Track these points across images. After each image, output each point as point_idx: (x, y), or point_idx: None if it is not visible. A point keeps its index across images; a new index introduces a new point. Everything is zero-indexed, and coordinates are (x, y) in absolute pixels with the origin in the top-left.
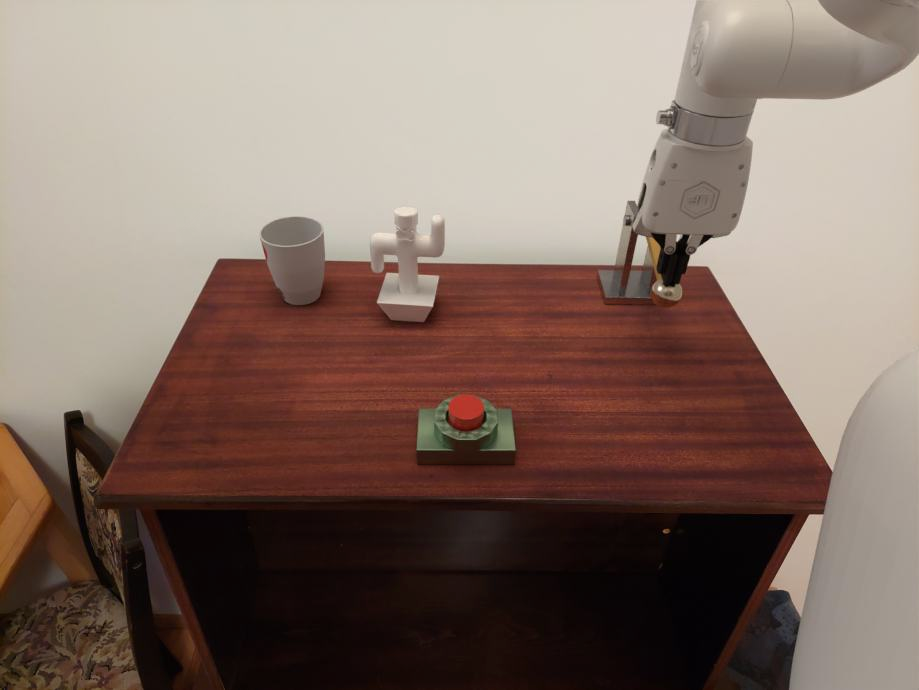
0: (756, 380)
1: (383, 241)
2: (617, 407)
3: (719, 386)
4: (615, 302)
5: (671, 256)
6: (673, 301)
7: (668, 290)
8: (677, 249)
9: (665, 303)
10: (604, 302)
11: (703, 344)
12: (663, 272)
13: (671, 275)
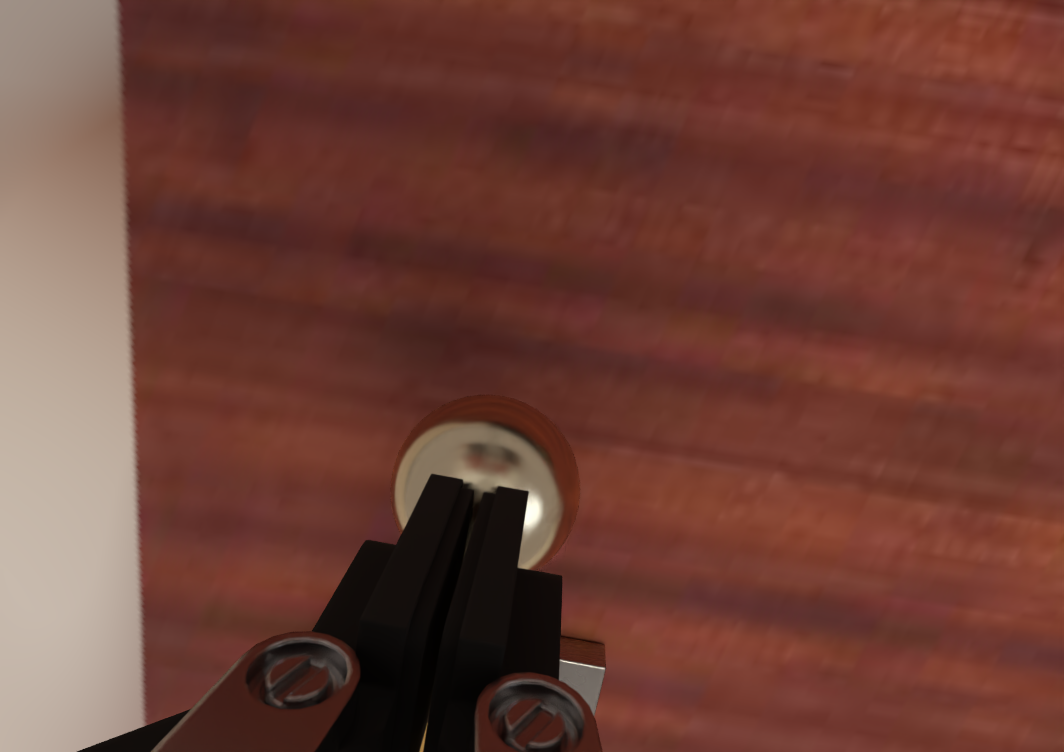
0: (172, 94)
1: None
2: (838, 8)
3: (342, 79)
4: (563, 642)
5: (503, 655)
6: (477, 399)
7: (506, 456)
8: (403, 740)
9: (525, 403)
10: (603, 652)
11: (306, 350)
12: (533, 573)
13: (494, 521)
